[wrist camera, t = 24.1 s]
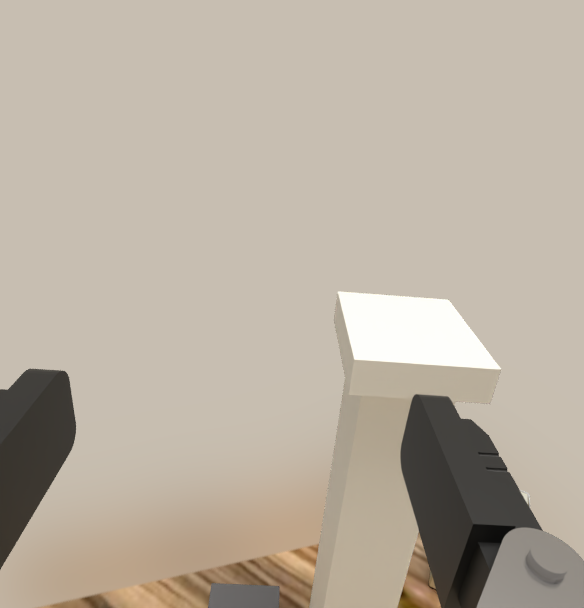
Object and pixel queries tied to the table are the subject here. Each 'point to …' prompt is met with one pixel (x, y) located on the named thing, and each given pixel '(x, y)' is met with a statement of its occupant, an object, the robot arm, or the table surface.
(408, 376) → the pale stand
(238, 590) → the rubber mallet
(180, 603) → the table surface
